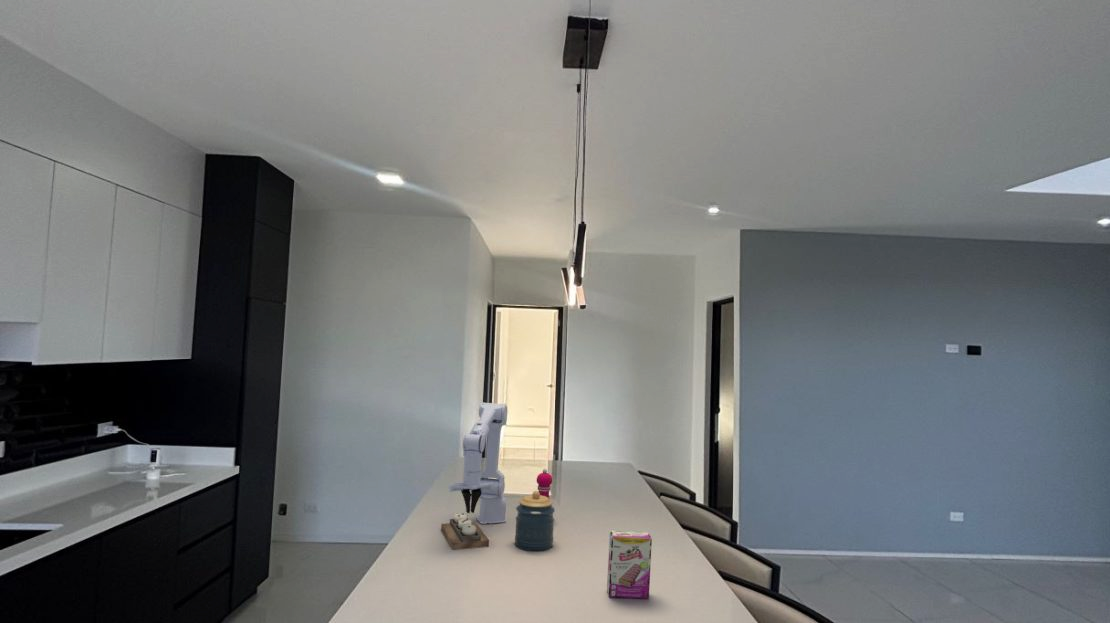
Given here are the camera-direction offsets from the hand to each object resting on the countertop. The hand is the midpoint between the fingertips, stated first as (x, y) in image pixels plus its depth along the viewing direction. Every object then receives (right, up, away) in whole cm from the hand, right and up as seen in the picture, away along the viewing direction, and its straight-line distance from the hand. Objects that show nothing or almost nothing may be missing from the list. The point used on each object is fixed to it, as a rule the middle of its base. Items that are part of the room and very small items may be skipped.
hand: (470, 512), depth 189 cm
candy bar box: (+48, -11, -34) cm, 60 cm away
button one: (0, -7, 0) cm, 7 cm away
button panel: (-3, -11, +5) cm, 12 cm away
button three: (-3, -7, +6) cm, 9 cm away
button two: (-5, -7, +12) cm, 15 cm away
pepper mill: (+23, -13, +26) cm, 37 cm away
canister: (+21, -12, +2) cm, 24 cm away
